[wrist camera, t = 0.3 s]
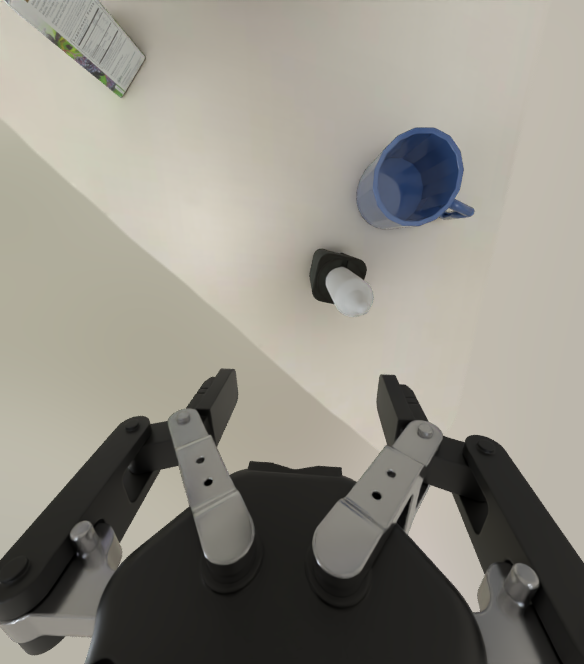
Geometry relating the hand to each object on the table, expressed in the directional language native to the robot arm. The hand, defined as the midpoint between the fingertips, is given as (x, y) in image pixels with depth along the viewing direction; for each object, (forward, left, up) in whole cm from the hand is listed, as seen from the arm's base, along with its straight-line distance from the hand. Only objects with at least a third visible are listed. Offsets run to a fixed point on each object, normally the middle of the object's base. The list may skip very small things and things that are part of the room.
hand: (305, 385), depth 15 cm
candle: (-3, +4, -28) cm, 29 cm away
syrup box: (-31, -20, -28) cm, 47 cm away
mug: (-11, +14, -28) cm, 34 cm away
